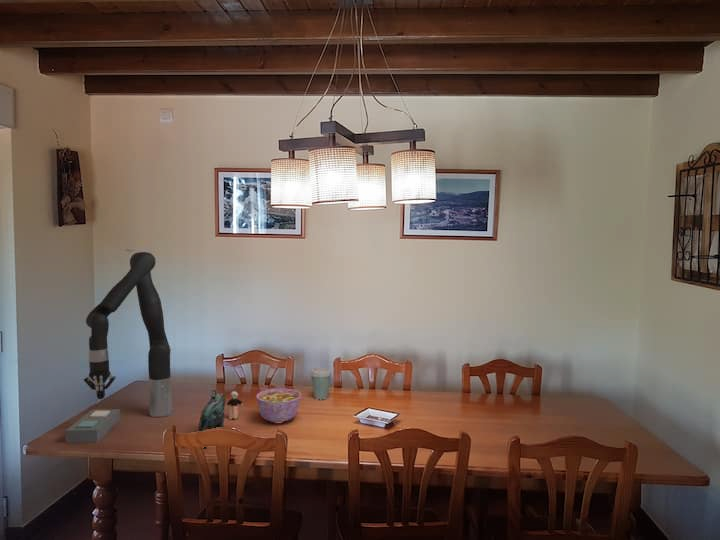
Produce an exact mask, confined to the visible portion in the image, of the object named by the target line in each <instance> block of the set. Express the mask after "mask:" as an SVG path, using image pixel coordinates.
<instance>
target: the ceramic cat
mask: <svg viewBox="0 0 720 540" xmlns="http://www.w3.org/2000/svg"><path fill="white" fill-rule="evenodd" d="M210 393H211V394H210V399H209V401H208V402H207V403H205V405H204V407H203V409H202V411H201V414H200V417H199V423H198V432H199V431H203V430H206V429H212V428H216V427H223V428H225V427H224V426H225V425H224V420H225V406H226V396H225V394H224V393H220V392H219V391H218V390H217V389H213V390H212V391H211V392H210Z"/></svg>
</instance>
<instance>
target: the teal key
mask: <svg viewBox="0 0 720 540" xmlns="http://www.w3.org/2000/svg"><path fill="white" fill-rule="evenodd" d="M98 423H99V421H83V422H81V423H80V424H79V425H78V426H77V428H93V427H95V426H96V425H97V424H98Z"/></svg>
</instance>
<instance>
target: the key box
mask: <svg viewBox="0 0 720 540" xmlns="http://www.w3.org/2000/svg"><path fill="white" fill-rule="evenodd" d="M95 411H110V414H108V415H107V416H106V417H90V415H91V414H93V413H94V412H95ZM83 421H99V423H98V424H97V425H96V426H95V427H93V428H77V426H78V425H79V424H80V423H81V422H83ZM120 421H121V410H120V409H117V408H116V409H91V410H89V412H87V413H85V414H84V415H83V416H82V417H80V418H79V419H78V420H77V421H76V422H75V423H73V424H72V425H70V427H68V428H67V429H65V443H67V444H68V443H73V444H74V443H76V444H77V443H78V444H80V443H99V441H100V440H101V439H102V438H103V437H104V436H106V434H108V433H109V432H110V431H111V430H112V429H113V428H114V427H115V426H116V425H117V424H118V423H119V422H120ZM114 425H115V426H114ZM113 426H114V427H113ZM112 427H113V428H112ZM111 428H112V429H111ZM110 429H111V430H110ZM109 430H110V431H109Z"/></svg>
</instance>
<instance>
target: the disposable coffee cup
mask: <svg viewBox="0 0 720 540" xmlns="http://www.w3.org/2000/svg"><path fill="white" fill-rule="evenodd" d="M331 375H332V372H331V371H330V369H328V368H324V367H314V368H312V369H311V371H310V376H311V385H312V391H313V397H314V399H315V398H318V399H324V398H327V399H328V395H329V389H330V383H331V378H332V377H331Z"/></svg>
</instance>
